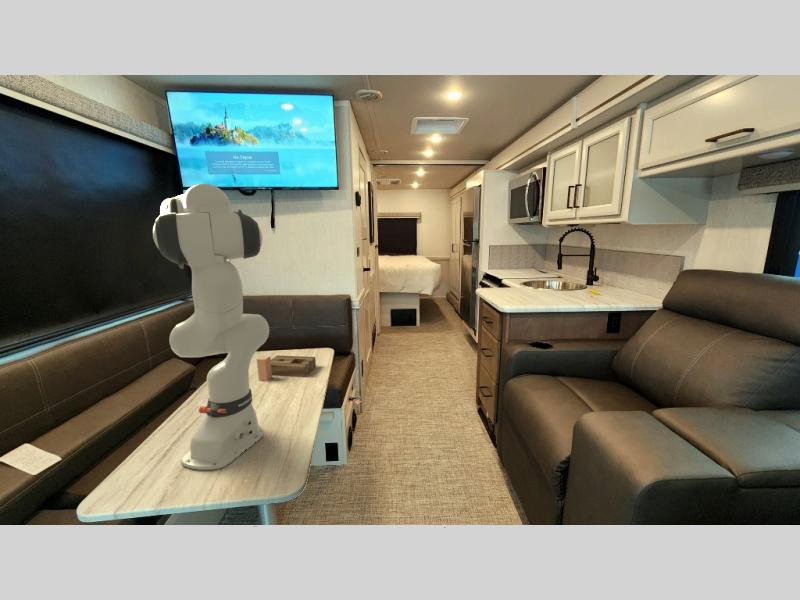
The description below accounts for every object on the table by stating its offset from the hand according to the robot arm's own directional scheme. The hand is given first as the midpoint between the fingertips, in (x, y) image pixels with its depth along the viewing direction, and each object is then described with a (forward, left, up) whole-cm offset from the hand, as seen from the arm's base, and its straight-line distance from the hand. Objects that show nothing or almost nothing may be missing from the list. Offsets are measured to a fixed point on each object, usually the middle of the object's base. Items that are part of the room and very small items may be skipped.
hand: (213, 266), depth 121 cm
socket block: (+21, -17, -52) cm, 58 cm away
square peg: (+11, -10, -52) cm, 54 cm away
